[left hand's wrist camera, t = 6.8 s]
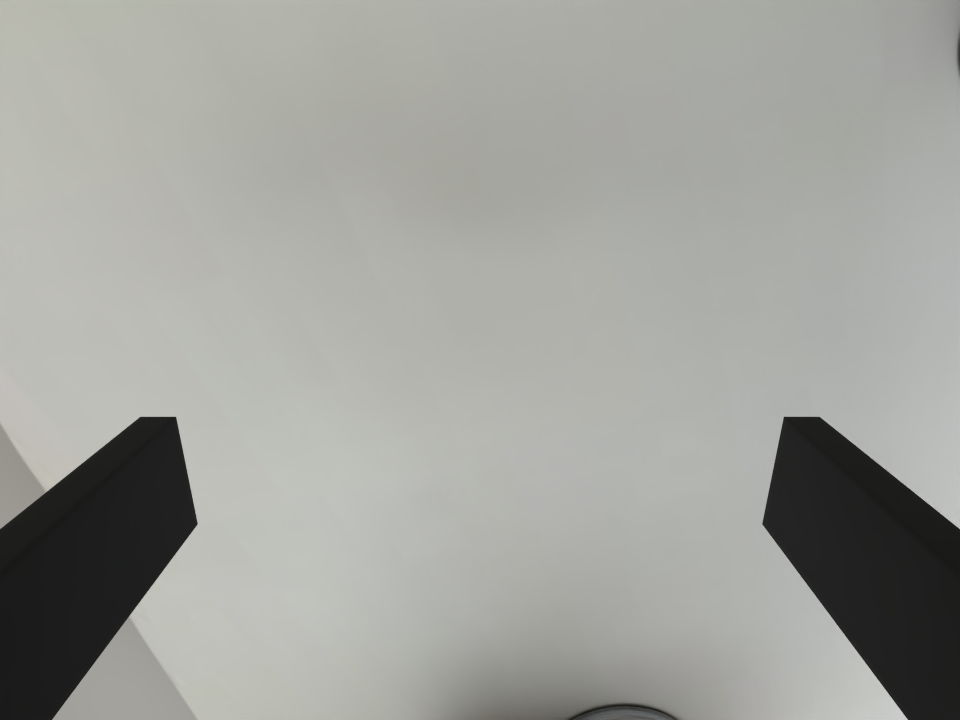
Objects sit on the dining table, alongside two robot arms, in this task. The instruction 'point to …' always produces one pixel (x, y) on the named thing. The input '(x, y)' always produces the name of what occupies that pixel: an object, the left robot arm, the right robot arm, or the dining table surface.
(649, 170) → the dining table surface
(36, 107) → the dining table surface
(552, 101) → the dining table surface
